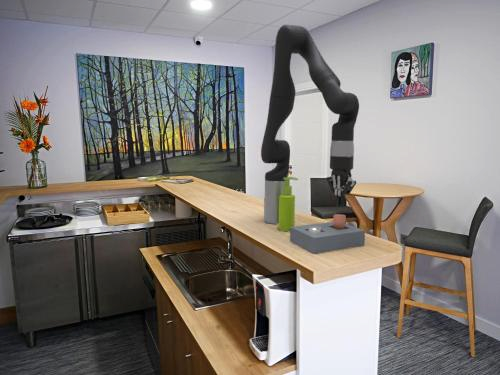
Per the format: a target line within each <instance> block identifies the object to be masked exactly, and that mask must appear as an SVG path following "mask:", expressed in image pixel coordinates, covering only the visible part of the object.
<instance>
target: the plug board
mask: <svg viewBox="0 0 500 375" xmlns="http://www.w3.org/2000/svg"><path fill="white" fill-rule="evenodd" d="M311 226H317V227H320V228H321V232H319V233H311V232H309V231H308V229H309V227H311ZM365 240H366V230H364V229H362V228H359V227H356V226H353V225H350V224H347V223H345V229H340V230H337V229H334V228H333V221H328V222H319V223H312V224H303V225H294V227H290V232H289V242H291V243H293V244H294V245H295V246H296V245H297V246H298V247H300V248H302V249H304V250H306V251H307V252H310V253H312V254H314V255H315V254H321V253H326V252H332V251H333V252H334V251H339V250H344V249H345V250H346V249H350V248H357V247H361V246H365Z"/></svg>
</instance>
